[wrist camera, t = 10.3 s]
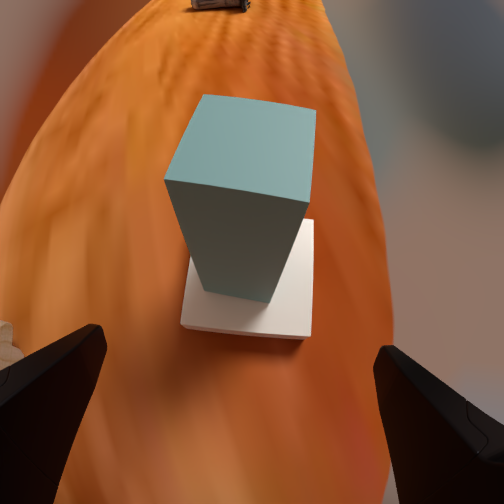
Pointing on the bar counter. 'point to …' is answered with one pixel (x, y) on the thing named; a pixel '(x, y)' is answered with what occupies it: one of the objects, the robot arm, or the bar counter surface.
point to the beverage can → (219, 4)
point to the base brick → (255, 312)
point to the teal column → (242, 191)
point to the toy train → (8, 346)
